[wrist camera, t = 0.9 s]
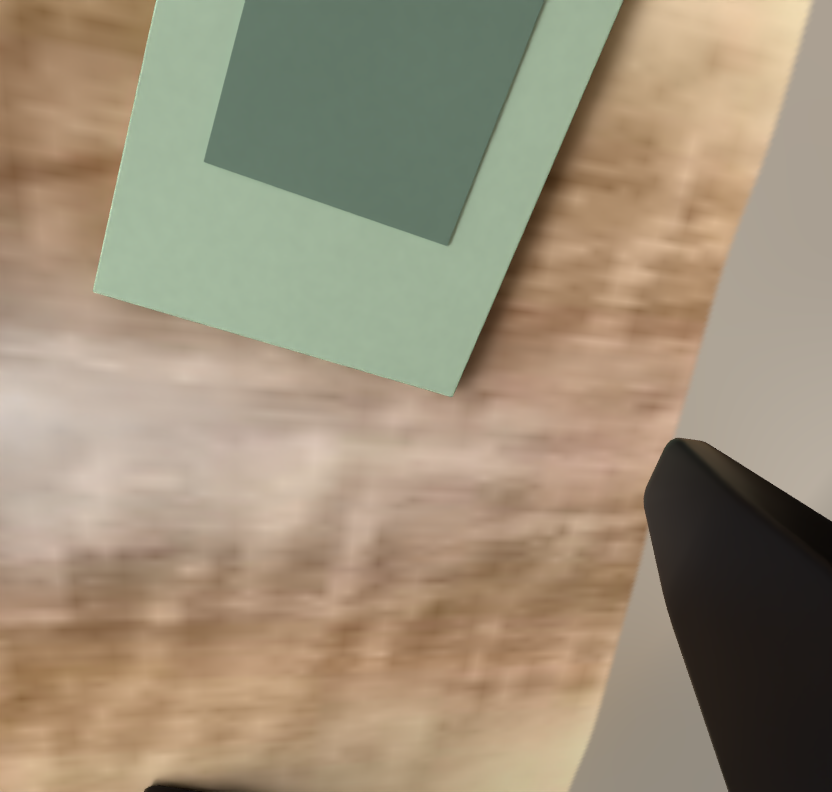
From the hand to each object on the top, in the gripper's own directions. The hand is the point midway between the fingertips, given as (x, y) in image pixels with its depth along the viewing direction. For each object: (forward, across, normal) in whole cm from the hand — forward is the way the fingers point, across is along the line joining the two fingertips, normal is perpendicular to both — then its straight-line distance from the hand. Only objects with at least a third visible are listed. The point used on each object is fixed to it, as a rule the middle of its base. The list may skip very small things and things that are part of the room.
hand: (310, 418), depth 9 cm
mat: (+15, -1, -1) cm, 15 cm away
